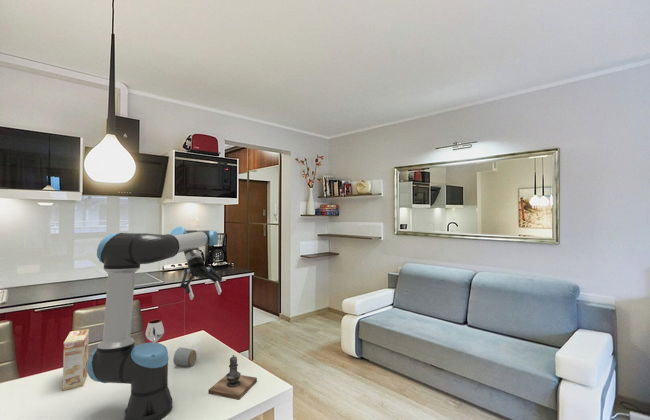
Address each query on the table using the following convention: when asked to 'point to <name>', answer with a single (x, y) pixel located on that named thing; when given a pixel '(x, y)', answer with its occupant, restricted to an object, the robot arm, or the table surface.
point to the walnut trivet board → (236, 391)
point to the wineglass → (154, 330)
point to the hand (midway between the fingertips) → (206, 295)
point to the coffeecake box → (75, 359)
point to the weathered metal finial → (233, 373)
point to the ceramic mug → (184, 356)
